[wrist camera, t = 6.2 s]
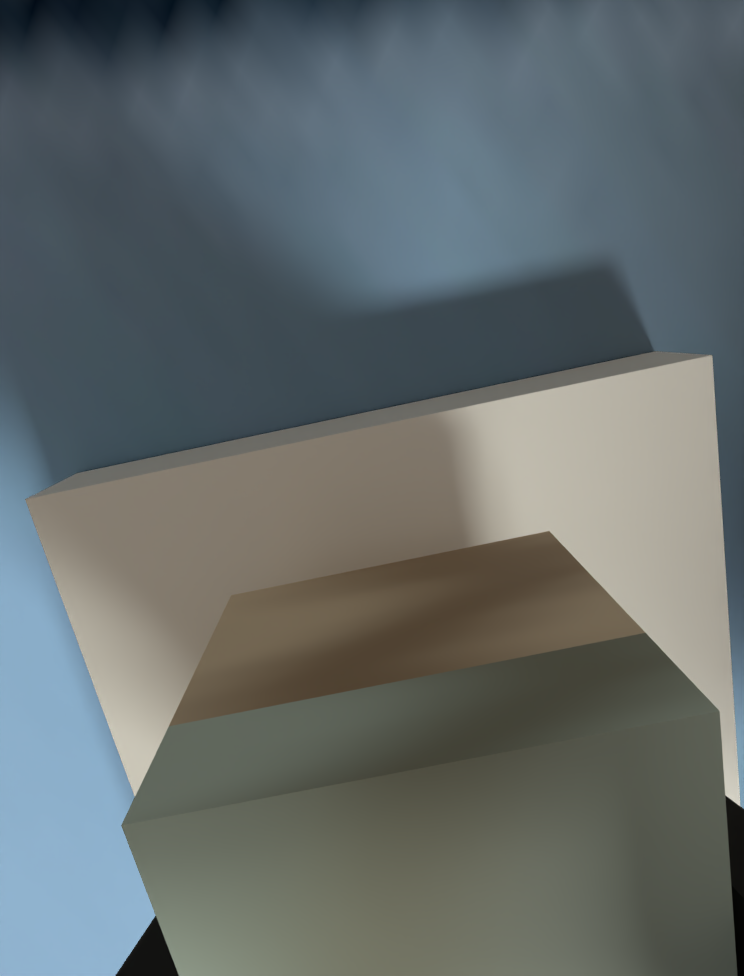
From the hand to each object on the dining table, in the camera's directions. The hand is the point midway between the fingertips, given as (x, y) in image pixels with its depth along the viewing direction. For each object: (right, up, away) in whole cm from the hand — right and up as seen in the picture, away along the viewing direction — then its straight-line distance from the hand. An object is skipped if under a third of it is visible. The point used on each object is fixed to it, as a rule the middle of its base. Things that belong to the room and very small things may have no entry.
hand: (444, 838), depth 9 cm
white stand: (0, +1, +5) cm, 5 cm away
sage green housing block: (0, 0, +2) cm, 2 cm away
